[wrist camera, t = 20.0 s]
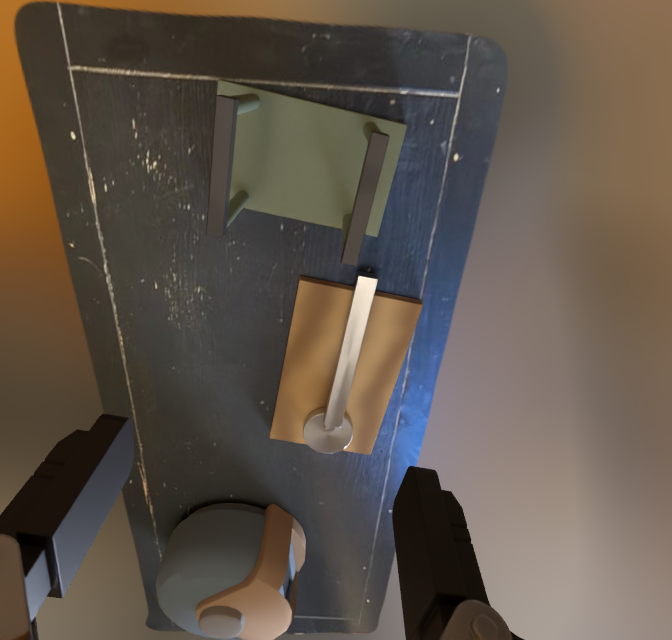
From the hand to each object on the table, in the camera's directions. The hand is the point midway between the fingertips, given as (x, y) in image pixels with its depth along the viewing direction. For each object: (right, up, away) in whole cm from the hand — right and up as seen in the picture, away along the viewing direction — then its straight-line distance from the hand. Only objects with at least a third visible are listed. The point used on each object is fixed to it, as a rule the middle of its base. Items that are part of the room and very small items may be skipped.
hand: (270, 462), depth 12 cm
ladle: (+3, -1, +36) cm, 37 cm away
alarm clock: (-13, -29, +53) cm, 62 cm away
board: (+2, -2, +38) cm, 38 cm away
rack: (-1, +18, +27) cm, 32 cm away
